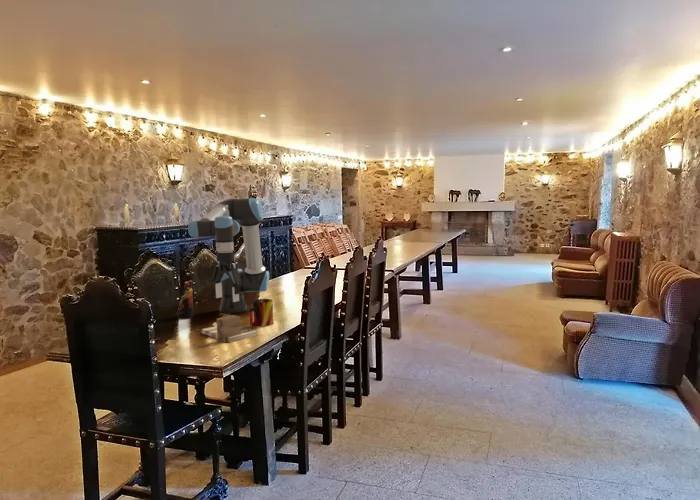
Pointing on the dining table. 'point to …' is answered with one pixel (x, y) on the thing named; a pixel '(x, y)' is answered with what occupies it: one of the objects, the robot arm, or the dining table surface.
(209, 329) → the board
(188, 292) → the statue
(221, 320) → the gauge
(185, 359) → the dining table surface
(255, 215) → the robot arm
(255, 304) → the mug
